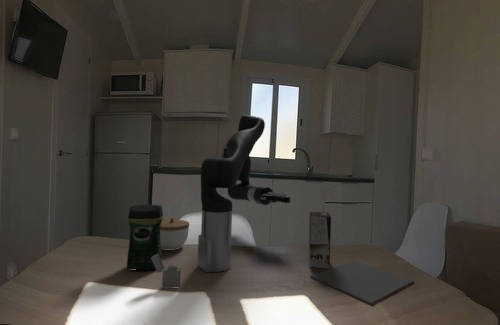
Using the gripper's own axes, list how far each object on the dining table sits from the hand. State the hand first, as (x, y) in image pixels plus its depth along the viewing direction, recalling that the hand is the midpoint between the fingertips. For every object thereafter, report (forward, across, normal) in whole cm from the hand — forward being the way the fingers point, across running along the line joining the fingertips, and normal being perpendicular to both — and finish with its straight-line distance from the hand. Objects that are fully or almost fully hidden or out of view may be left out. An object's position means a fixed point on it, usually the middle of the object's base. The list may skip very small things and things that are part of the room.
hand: (288, 200), depth 98 cm
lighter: (+5, -47, +18) cm, 51 cm away
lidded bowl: (-25, -35, +19) cm, 47 cm away
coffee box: (+15, 0, +19) cm, 24 cm away
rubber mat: (+30, 0, +18) cm, 35 cm away
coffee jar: (-11, -48, +18) cm, 53 cm away
